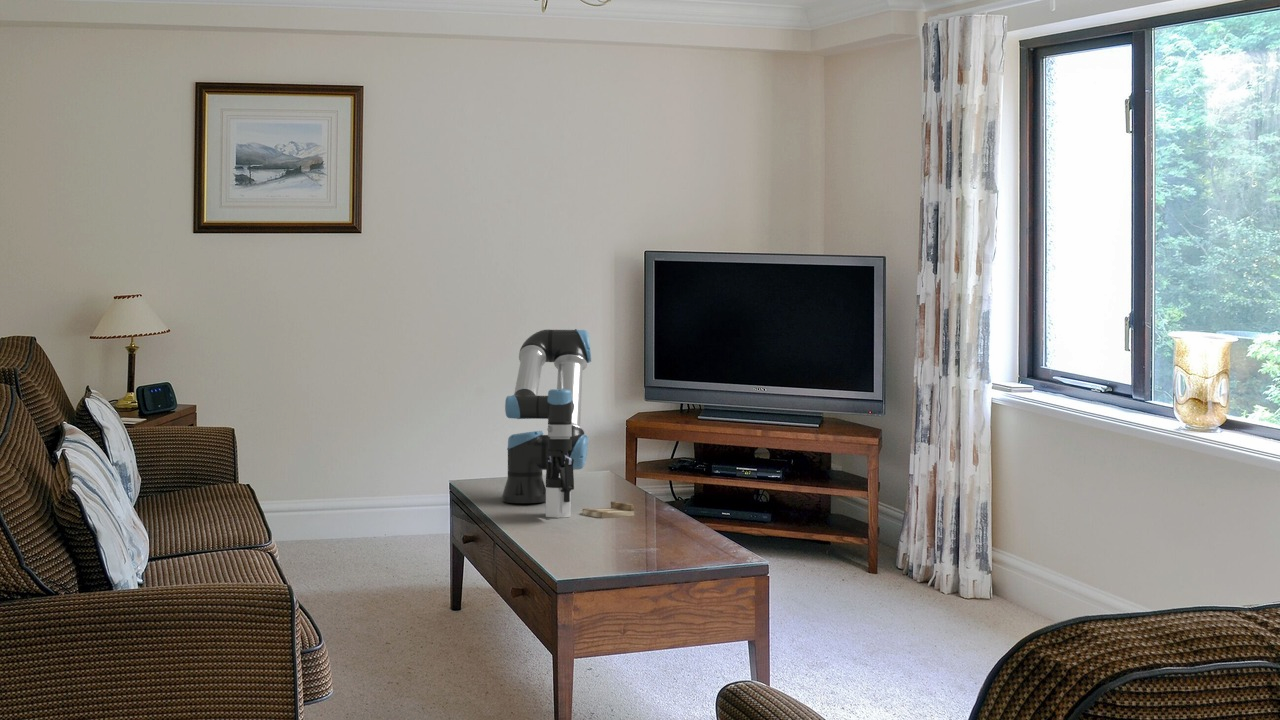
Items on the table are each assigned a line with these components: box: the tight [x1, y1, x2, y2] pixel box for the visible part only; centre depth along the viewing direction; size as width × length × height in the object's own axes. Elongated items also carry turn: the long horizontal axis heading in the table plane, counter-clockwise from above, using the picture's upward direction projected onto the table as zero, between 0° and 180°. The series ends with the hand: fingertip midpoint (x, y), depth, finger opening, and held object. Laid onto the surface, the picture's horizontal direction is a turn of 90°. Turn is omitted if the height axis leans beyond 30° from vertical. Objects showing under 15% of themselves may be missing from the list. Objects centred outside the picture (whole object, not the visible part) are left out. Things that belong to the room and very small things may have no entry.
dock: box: [581, 501, 635, 519], centre depth 348 cm, size 12×12×4 cm
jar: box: [545, 477, 572, 519], centre depth 344 cm, size 9×8×12 cm
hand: (559, 511), depth 343 cm, fingers closed on jar, 6 cm apart
